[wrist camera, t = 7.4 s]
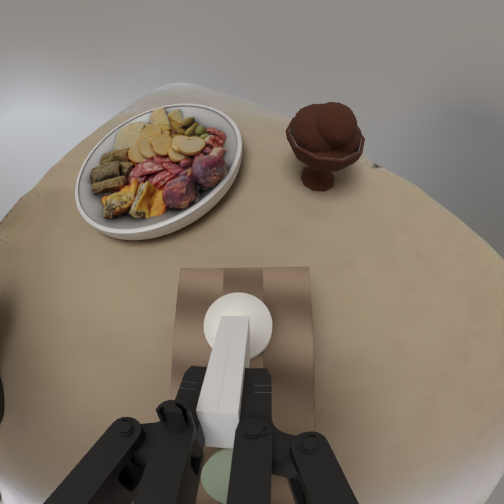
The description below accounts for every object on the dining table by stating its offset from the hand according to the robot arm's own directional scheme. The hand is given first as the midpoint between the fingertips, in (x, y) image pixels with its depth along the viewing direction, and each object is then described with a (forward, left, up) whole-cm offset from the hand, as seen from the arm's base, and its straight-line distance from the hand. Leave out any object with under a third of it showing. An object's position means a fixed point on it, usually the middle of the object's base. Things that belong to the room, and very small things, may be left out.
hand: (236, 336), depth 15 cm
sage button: (+7, -8, -10) cm, 15 cm away
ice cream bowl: (-12, +26, -18) cm, 34 cm away
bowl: (-33, +9, -19) cm, 39 cm away
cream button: (-1, +1, -10) cm, 10 cm away
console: (+7, -8, -18) cm, 21 cm away
